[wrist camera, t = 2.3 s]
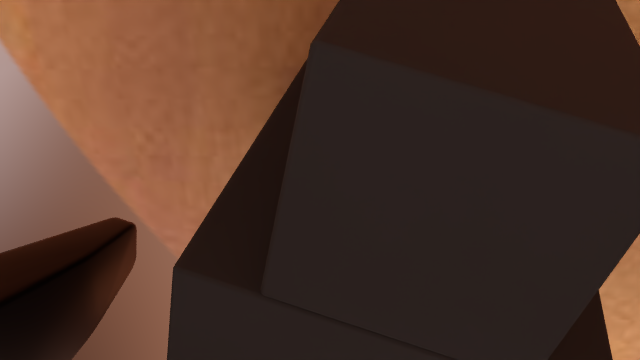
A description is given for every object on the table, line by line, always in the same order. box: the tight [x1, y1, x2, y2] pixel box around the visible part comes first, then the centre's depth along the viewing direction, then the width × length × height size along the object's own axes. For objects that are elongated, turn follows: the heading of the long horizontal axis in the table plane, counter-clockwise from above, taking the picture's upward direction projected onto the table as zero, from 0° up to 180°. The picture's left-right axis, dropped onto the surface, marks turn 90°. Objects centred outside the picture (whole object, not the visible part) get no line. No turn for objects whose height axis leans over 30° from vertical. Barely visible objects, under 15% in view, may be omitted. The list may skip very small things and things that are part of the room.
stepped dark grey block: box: [167, 0, 640, 360], centre depth 11 cm, size 9×5×9 cm, turn 168°
